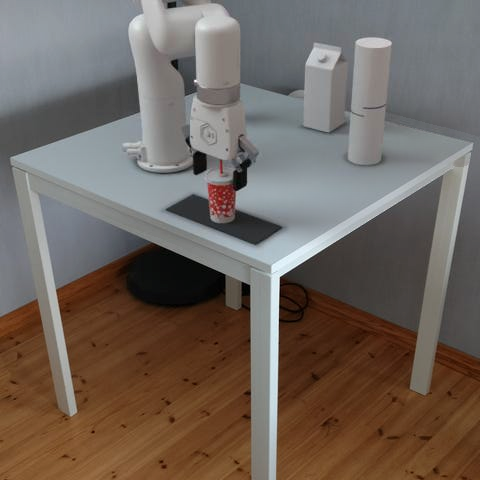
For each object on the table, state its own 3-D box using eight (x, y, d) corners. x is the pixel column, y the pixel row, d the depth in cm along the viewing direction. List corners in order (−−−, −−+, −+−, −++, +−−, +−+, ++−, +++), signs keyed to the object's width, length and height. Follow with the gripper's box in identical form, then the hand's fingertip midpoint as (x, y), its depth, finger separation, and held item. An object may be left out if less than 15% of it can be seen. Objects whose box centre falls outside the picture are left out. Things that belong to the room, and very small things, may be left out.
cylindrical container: (379, 166, 169) (390, 48, 155) (346, 163, 170) (354, 47, 156) (381, 152, 175) (392, 38, 161) (349, 150, 176) (357, 36, 162)
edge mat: (165, 210, 154) (165, 208, 154) (193, 195, 159) (193, 193, 159) (255, 245, 142) (255, 243, 142) (282, 227, 147) (282, 226, 147)
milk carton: (318, 117, 193) (322, 38, 182) (344, 123, 189) (349, 43, 179) (303, 127, 188) (305, 46, 177) (329, 133, 184) (333, 51, 174)
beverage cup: (241, 223, 148) (240, 154, 140) (208, 226, 147) (205, 156, 140) (236, 208, 153) (234, 140, 145) (204, 211, 152) (201, 143, 145)
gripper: (167, 85, 139) (171, 173, 149) (243, 110, 130) (243, 202, 140) (195, 74, 144) (198, 160, 154) (271, 97, 135) (269, 187, 145)
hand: (219, 180), depth 147 cm, fingers open, 9 cm apart
